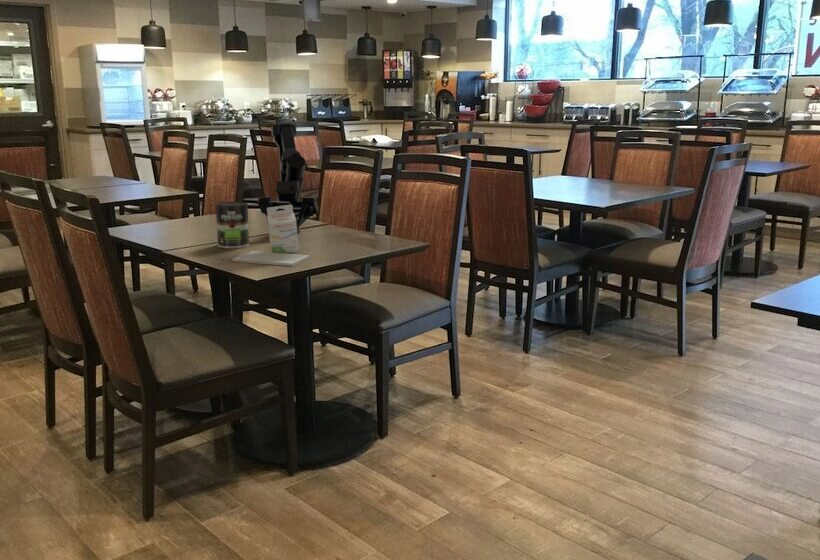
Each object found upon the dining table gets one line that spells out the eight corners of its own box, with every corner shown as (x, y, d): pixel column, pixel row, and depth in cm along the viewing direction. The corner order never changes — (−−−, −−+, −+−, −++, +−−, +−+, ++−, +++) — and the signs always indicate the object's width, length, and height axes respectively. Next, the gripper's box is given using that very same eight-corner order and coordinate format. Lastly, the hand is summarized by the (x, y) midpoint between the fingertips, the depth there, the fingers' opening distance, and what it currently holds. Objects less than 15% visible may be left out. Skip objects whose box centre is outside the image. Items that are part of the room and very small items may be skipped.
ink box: (272, 255, 233) (267, 216, 224) (270, 245, 237) (265, 207, 227) (299, 250, 235) (295, 212, 226) (297, 241, 239) (293, 203, 229)
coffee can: (249, 248, 242) (247, 205, 239) (217, 249, 240) (214, 206, 237) (249, 242, 252) (247, 200, 249) (218, 243, 250) (216, 201, 247)
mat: (232, 261, 223) (232, 258, 223) (252, 253, 235) (252, 250, 234) (292, 266, 218) (292, 263, 217) (310, 257, 229) (310, 255, 228)
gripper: (257, 171, 234) (246, 210, 226) (314, 171, 232) (305, 210, 223) (267, 194, 244) (257, 232, 235) (322, 194, 241) (314, 232, 232)
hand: (282, 226), depth 231 cm, fingers open, 9 cm apart
